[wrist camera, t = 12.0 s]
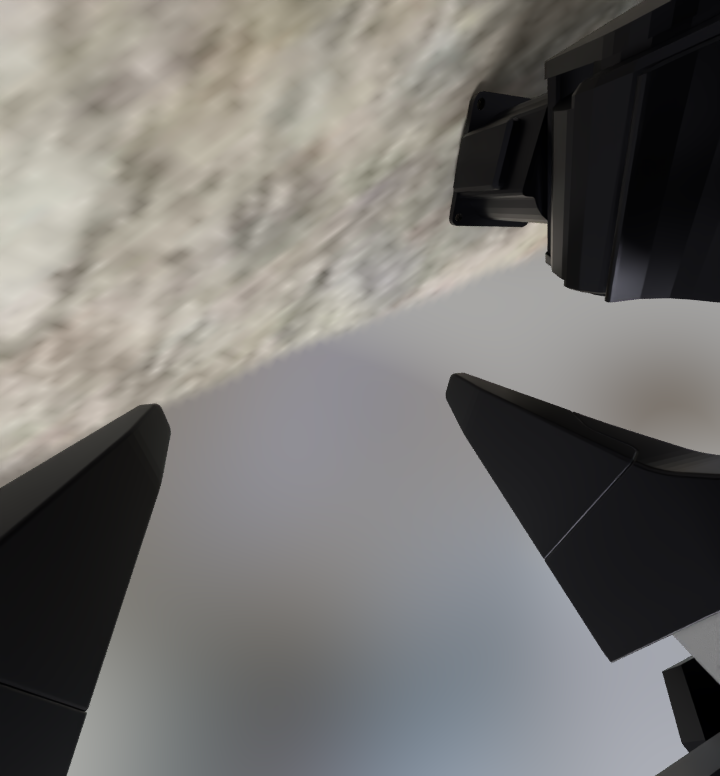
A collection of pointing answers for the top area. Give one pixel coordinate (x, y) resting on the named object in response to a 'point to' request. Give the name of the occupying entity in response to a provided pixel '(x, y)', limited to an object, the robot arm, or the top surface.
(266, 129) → the top surface
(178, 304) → the top surface
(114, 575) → the robot arm
